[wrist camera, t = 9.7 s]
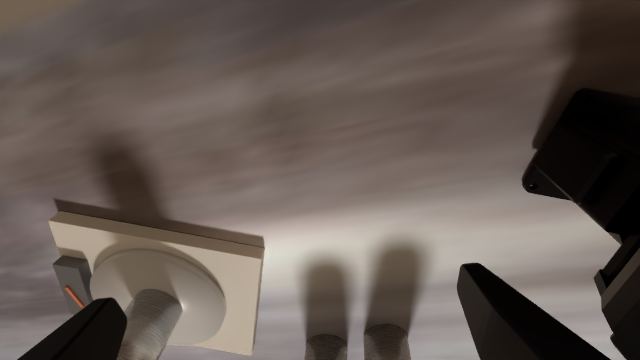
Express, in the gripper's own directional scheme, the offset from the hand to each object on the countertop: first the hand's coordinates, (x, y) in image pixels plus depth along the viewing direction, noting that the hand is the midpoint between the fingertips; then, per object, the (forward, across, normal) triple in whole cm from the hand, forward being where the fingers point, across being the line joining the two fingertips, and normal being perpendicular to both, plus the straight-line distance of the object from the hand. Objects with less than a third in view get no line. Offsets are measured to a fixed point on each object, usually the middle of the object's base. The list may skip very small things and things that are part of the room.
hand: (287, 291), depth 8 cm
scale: (+14, +14, +14) cm, 24 cm away
